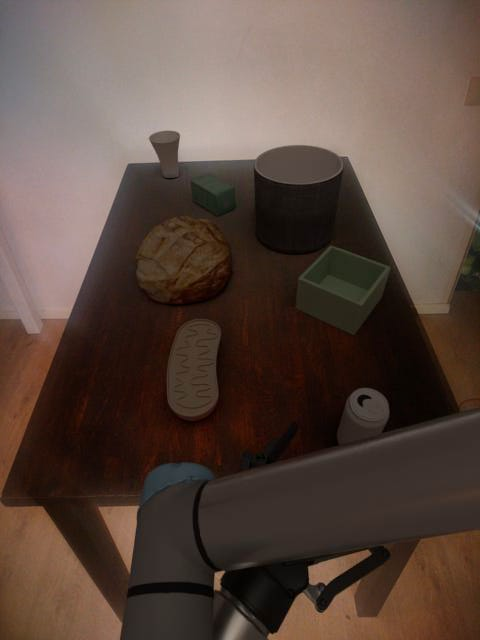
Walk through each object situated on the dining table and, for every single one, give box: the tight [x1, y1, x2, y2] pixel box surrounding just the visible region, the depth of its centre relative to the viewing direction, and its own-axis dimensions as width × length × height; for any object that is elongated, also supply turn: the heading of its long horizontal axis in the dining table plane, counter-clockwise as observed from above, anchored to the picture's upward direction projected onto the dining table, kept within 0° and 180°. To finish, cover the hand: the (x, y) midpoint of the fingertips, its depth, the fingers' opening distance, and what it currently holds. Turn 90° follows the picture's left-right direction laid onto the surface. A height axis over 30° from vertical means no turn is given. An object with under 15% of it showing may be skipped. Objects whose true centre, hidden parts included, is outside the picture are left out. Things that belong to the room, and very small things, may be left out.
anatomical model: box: [166, 318, 222, 422], centre depth 74 cm, size 23×10×5 cm, turn 0°
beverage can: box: [336, 387, 390, 445], centre depth 61 cm, size 6×6×12 cm
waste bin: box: [295, 244, 392, 336], centre depth 86 cm, size 15×15×9 cm
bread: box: [134, 214, 235, 305], centre depth 94 cm, size 25×27×15 cm
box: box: [190, 172, 236, 217], centre depth 119 cm, size 7×14×8 cm, turn 40°
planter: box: [253, 144, 345, 255], centre depth 102 cm, size 22×22×20 cm
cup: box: [148, 130, 181, 174], centre depth 133 cm, size 10×10×14 cm
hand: (338, 454), depth 52 cm, fingers open, 13 cm apart
